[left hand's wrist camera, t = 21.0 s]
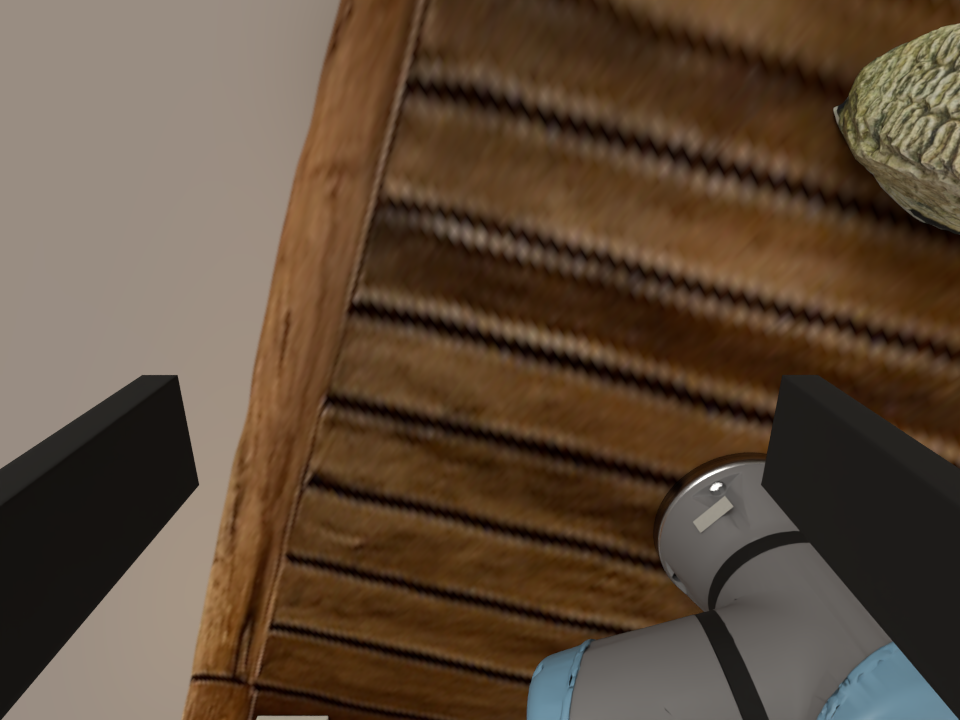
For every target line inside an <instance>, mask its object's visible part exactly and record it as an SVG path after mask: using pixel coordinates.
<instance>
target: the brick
mask: <svg viewBox="0 0 960 720" xmlns="http://www.w3.org/2000/svg"><path fill="white" fill-rule="evenodd" d="M256 720H329V719H328V716H258V717H257V719H256Z"/></svg>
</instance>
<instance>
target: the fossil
mask: <svg viewBox="0 0 960 720" xmlns="http://www.w3.org/2000/svg"><path fill="white" fill-rule="evenodd" d="M834 114H835V117H836V121H837V124H838V126H839V128H840V131H841V132H842V134H843V136H844V138H845V140H846V142H847V144H848V146H849V148H850V150H851V152H852V154H853V156H854V158H855V159H856V160H857V161H858V162H859V163H861V164H862V165H863V166H864V167H865V168H866V169H867V170H868V171H869V172H870V173H872V174H873V175H874V177H875V179H876V180H877V182H878V183H879V185H880V186H881V188H882V189H883V190H884V191H885V192H886V193H887V194H889V195H890V196H891V197H892V198H893V199H894V200H895V201H896V202H897V203H898V204H899V205H900V206H901V207H902V208H903V209H905V210H906V211H907V212H908V213H909V214H911V215H912V216H913V217H915V218H916V219H918V220H920V221H922V222H924V223H927V224H931V225H933V226H935V227H937V228H940V229H943V230H948V231H950V232H952V233H955V234H960V23H959V24H956V25H948V26H945V27H941V28H939V29H938V30H934V31H931V32H930V33H928V34H925V35H922V36H920V37H918V38H916V39H914V40H912V41H910V42H908V43H905V44H902V45H900V46H898V47H896V48H894V49H892V50H890V51H888V52H887V53H886V54H884V55H883V56H881V57H877V58H876V59H875V60H873V61H872V62H871V63H869V64H868V65H867V66H865V67H864V68H863V69H862V70H861V71H860V73H859V74H858V76H857V77H856V79H855V81H854V84H853V86H852V88H851V91H850V93H849V97H848V98H847V99H846V100H845V102H844V103H843V104H841V105H839V106H837V107H835V108H834Z"/></svg>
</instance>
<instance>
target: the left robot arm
mask: <svg viewBox="0 0 960 720" xmlns="http://www.w3.org/2000/svg"><path fill="white" fill-rule="evenodd" d="M198 486H199V482H198V477H197V472H196V467H195V462H194V456H193V452H192V446H191V441H190V436H189V431H188V426H187V421H186V416H185V411H184V406H183V401H182V396H181V391H180V385H179V380H178V376H177V375H142V376H140V377H139V378H137V379H136V380H134V381H133V382H131V383H130V384H128V385H127V386H125V387H124V388H122V389H121V390H119V391H118V392H116V393H115V394H113V395H112V396H110V397H109V398H107V399H105V400H104V401H102V402H101V403H100V404H98V405H96V406H95V407H93V408H92V409H90V410H89V411H87V412H86V413H84V414H83V415H81V416H80V417H78V418H77V419H75V420H74V421H72V422H71V423H69V424H68V425H66V426H65V427H63V428H62V429H60V430H59V431H57V432H56V433H54V434H53V435H51V436H50V437H48V438H47V439H45V440H44V441H42V442H41V443H39V444H37V445H36V446H34V447H33V448H32V449H30V450H28V451H27V452H25V453H24V454H22V455H21V456H19V457H18V458H16V459H15V460H13V461H12V462H10V463H9V464H7V465H6V466H4V467H3V468H1V469H0V720H1V719H2V718H3V717H4V716H5V715H6V713H7V712H8V711H9V710H10V709H11V707H12V706H13V705H14V704H15V703H16V702H17V700H18V699H19V698H20V697H21V696H22V694H23V693H24V692H25V691H26V690H27V688H28V687H29V686H30V685H31V684H32V683H33V681H34V680H35V679H36V678H37V677H38V675H39V674H40V673H41V672H42V671H43V670H44V668H45V667H46V666H47V665H48V664H49V662H50V661H51V660H52V659H53V658H54V656H55V655H56V654H57V653H58V652H59V650H60V649H61V648H62V647H63V646H64V645H65V643H66V642H67V641H68V640H69V639H70V637H71V636H72V635H73V634H74V633H75V632H76V630H77V629H78V628H79V627H80V626H81V624H82V623H83V622H84V621H85V620H86V618H87V617H88V616H89V615H90V614H91V613H92V611H93V610H94V609H95V608H96V607H97V605H98V604H99V603H100V602H101V601H102V600H103V598H104V597H105V596H106V595H107V594H108V592H109V591H110V590H111V589H112V588H113V586H114V585H115V584H116V583H117V582H118V581H119V579H120V578H121V577H122V576H123V575H124V573H125V572H126V571H127V570H128V569H129V567H130V566H131V565H132V564H133V563H134V562H135V560H136V559H137V558H138V557H139V556H140V554H141V553H142V552H143V551H144V550H145V549H146V547H147V546H148V545H149V544H150V543H151V541H152V540H153V539H154V538H155V537H156V535H157V534H158V533H159V532H160V531H161V530H162V528H163V527H164V526H165V525H166V524H167V522H168V521H169V520H170V519H171V518H172V516H173V515H174V514H175V513H176V512H177V511H178V509H179V508H180V507H181V506H182V505H183V503H184V502H185V501H186V500H187V499H188V497H189V496H190V495H191V494H192V493H193V492H194V490H195V489H196V488H197V487H198ZM654 544H655V548H656V551H657V554H658V556H659V558H660V561H661V563H662V565H663V567H664V570H665V571H666V573H667V575H668V576H669V578H670V579H671V581H672V582H673V583H674V584H675V585H676V586H677V587H678V588H679V589H681V590H682V591H683V592H684V593H685V594H687V595H688V596H689V598H690V599H691V600H692V601H693V602H694V603H696V604H697V605H698V606H699V607H700V608H701V609H702V610H703V611H704V612H703V613H700V614H696V615H690V616H687V617H683V618H679V619H676V620H672V621H668V622H665V623H661V624H657V625H653V626H650V627H646V628H642V629H638V630H634V631H630V632H626V633H622V634H618V635H614V636H610V637H606V638H602V639H598V640H595V639H588V640H586V641H585V642H584V643H582V644H581V645H579V646H576V647H574V648H571V649H568V650H564V651H561V652H558V653H555V654H552V655H550V656H548V657H546V658H545V659H543V660H542V661H541V662H540V664H539V665H538V666H537V668H536V670H535V672H534V674H533V677H532V681H531V684H530V688H529V694H528V704H527V720H960V469H959V468H957V467H956V466H954V465H953V464H951V463H950V462H948V461H947V460H945V459H944V458H942V457H941V456H939V455H938V454H936V453H935V452H933V451H932V450H930V449H929V448H927V447H926V446H924V445H923V444H921V443H919V442H918V441H916V440H915V439H913V438H912V437H910V436H909V435H907V434H906V433H904V432H903V431H901V430H900V429H898V428H897V427H895V426H894V425H892V424H891V423H889V422H888V421H886V420H885V419H883V418H882V417H880V416H879V415H877V414H876V413H874V412H873V411H871V410H870V409H868V408H867V407H865V406H864V405H862V404H861V403H859V402H858V401H856V400H855V399H853V398H851V397H850V396H848V395H847V394H845V393H844V392H842V391H841V390H839V389H838V388H836V387H835V386H833V385H832V384H830V383H829V382H827V381H826V380H824V379H823V378H821V377H820V376H818V375H782V380H781V385H780V390H779V395H778V401H777V406H776V411H775V416H774V421H773V426H772V431H771V436H770V441H769V446H768V451H767V454H763V453H738V454H731V455H726V456H723V457H719V458H716V459H714V460H711V461H708V462H706V463H704V464H702V465H700V466H698V467H697V468H695V469H693V470H692V471H690V472H689V473H687V474H686V475H685V476H684V477H682V478H681V479H680V480H679V481H678V482H677V483H676V484H675V485H674V486H673V487H672V488H671V490H670V491H669V492H668V493H667V495H666V496H665V498H664V499H663V501H662V503H661V505H660V507H659V509H658V512H657V515H656V518H655V523H654Z"/></svg>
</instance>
